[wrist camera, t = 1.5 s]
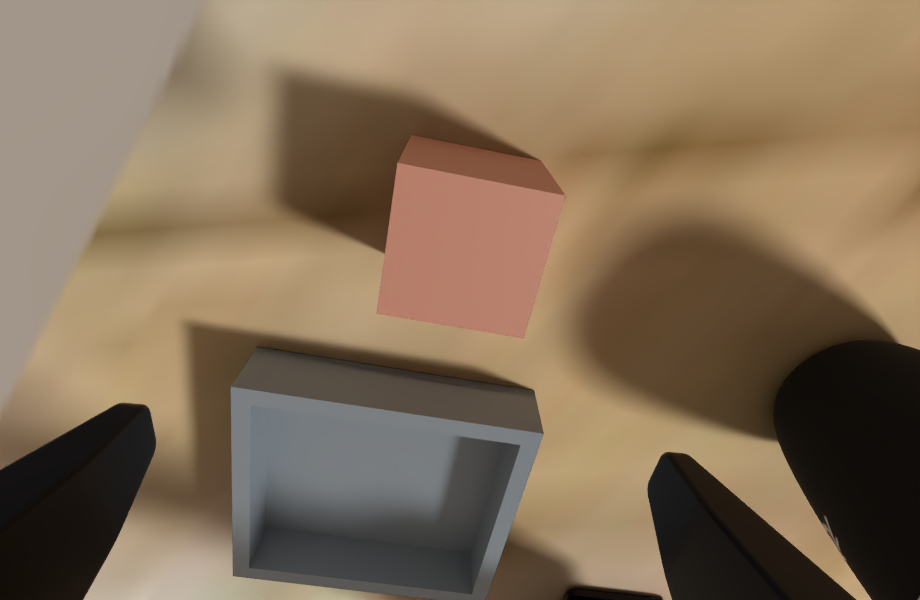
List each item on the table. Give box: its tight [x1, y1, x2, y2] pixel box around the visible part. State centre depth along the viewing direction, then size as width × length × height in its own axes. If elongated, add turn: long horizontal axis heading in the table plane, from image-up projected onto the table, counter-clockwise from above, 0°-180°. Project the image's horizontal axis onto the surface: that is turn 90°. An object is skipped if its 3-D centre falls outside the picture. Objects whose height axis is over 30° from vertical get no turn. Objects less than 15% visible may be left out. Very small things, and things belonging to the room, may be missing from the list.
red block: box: [377, 135, 565, 338], centre depth 18 cm, size 5×5×5 cm
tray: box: [231, 347, 544, 600], centre depth 25 cm, size 13×12×3 cm
